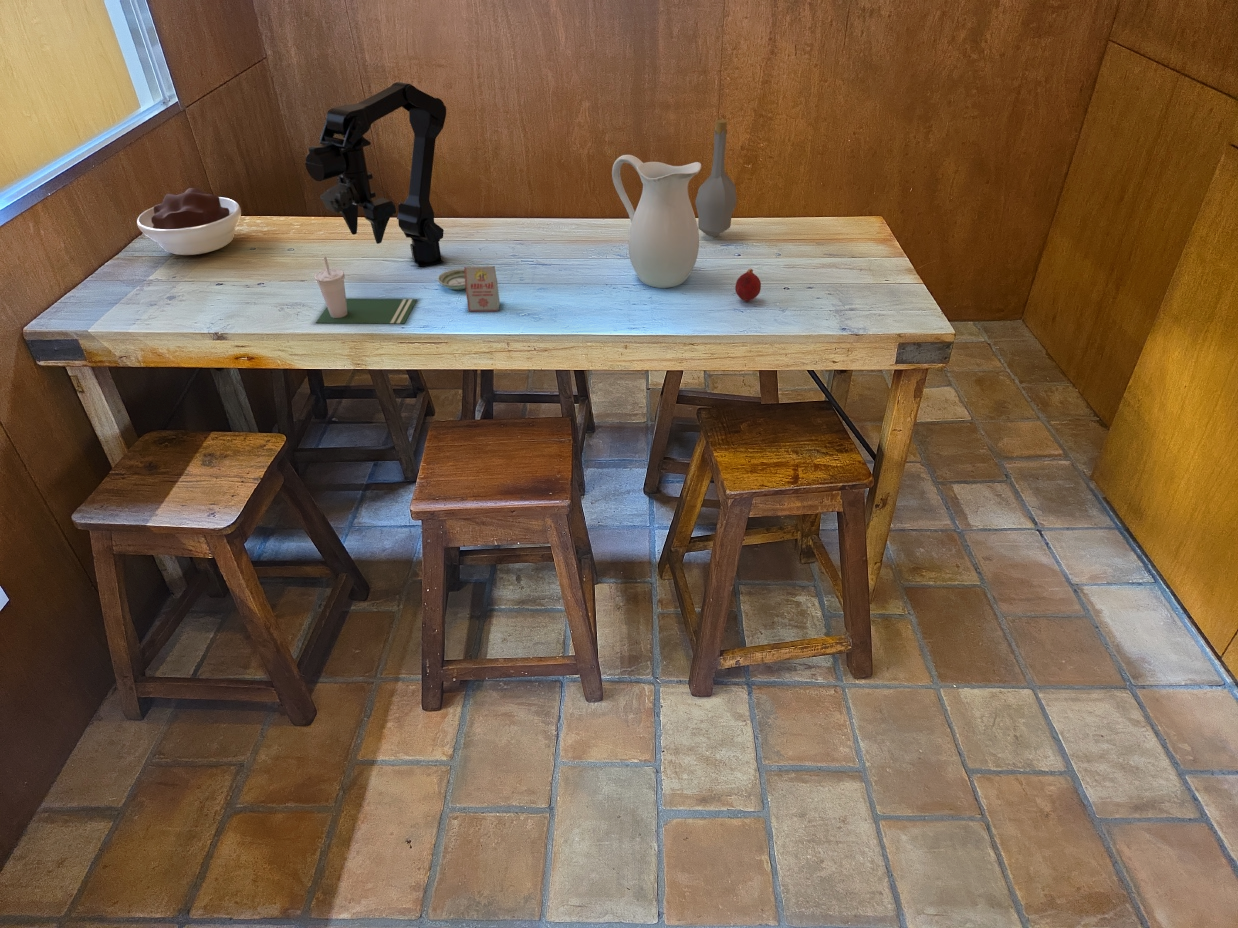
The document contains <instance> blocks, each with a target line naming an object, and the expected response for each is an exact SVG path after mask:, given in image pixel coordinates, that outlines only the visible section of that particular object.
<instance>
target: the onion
mask: <svg viewBox="0 0 1238 928" xmlns="http://www.w3.org/2000/svg"><path fill="white" fill-rule="evenodd" d="M734 289H735V293H736V295H737V297H738V298H739V299H740V300H742V301H744V302H746V303H749V302H750V301H753V300H754V299H755V298H757V297H758V296H759V294H760V293H761V290H762V282H761V279H760V278H759V277H758V276H757V275H756V274H755V273H754V270H753V268H748V269H747V271H746V272H745V273H743V274H741V275H740V276H739V277H738V278H737V280H736V282H735V286H734Z"/></svg>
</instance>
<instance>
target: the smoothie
mask: <svg viewBox="0 0 1238 928" xmlns="http://www.w3.org/2000/svg"><path fill="white" fill-rule="evenodd" d="M323 260H324V263H325V269H322V270H320V271H318V272H316V273H315V274H314V282H315V283H317V285H318V288H319V290H320V293H321V295H322V298H323V300H324V303H325V305H326V308H328V310H329V313H330V315H331V317H333V318H341V317H344V316H346V315H347V304H346V299H347V297H346V295H347V294H346V287H345V286H346V285H345V279H346V275H345V271H344V270H342V269H339V268H330V266H329V262H328V258H327V255H324V256H323Z"/></svg>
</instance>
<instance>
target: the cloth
mask: <svg viewBox="0 0 1238 928" xmlns="http://www.w3.org/2000/svg"><path fill="white" fill-rule="evenodd" d="M417 301H418V299H416V298H346V304H347V315H346V316H344V317H341V318H333V317H331V315H330V313H329V310H328V308H327V307H325V309H324V310H323V312H322V313H321V314H320V316H319V317H318V319H317V320H316V322H315V324H358V325H359V324H362V325H363V324H365V325H366V324H369V325H370V324H374V325H376V324H377V325H378V324H379V325H384V324H385V325H404V324H405V323H406V321H407V320H408V318H409V316H410V314H411V312H412V310H413V309H414V306H415V304H416V302H417Z"/></svg>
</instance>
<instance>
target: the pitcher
mask: <svg viewBox="0 0 1238 928" xmlns="http://www.w3.org/2000/svg"><path fill="white" fill-rule="evenodd" d="M624 163H626V164H629V165H631V166H632V167H633V168H634V170H635V171H636V172H637V174H638V176H639V177H640V181H641V183H642V191H641V195H640V199H639V201H638V204H637V206H636V209H634V207H633V204H632V203H631V201H630V199H629V197H628V194H627V192H626V190H625V188H624V185H623V182H622V177H621V170H622V169H621V168H622V166H623V164H624ZM701 170H702V163H701V162H700V161H699V162H698V161H694V162H691V163H688V164H684V165H671V164H667V163H664V162H660V161H647V162H643V161H642V160H641V159H639V157H636V156H635V155H632V154H622V155H620V156H619V157H617V158H616V160H615V161H614V163H613V165H612V169H611V177H612V182H613V186H614V188H615V190H616V193H617V195H618V196H619V198H620V200H621V202H622V204H623V206H624V208H625V209H626V212H627V214H628V217H629V220H630V225H629V230H628V239H627V249H628V256H629V260H630V264H631V266H632V268H633V269H634V270H633V271H634V272H635V274H636V276H637V277H638V279H639V281H640V282H642V283H643V285H646V286H649V287H652V288H657V289H666V288H667V289H668V288H674V287H678V286H680V285H682V284H683V283H685V281H687V279H688V278H689V276H690V274H691V273H692V271H693V269H694V268H695V265H696V262H697V259H698V255H699V249H700V234H699V232H700V231H699V228H698V223H697V219H696V215H695V212H694V209H693V205H692V203H691V200H690V197H689V196H690V195H689V182H690V181H691V180H692V179H693V178H694V177H696V175H698V174H699V173H700V172H701Z"/></svg>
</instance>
